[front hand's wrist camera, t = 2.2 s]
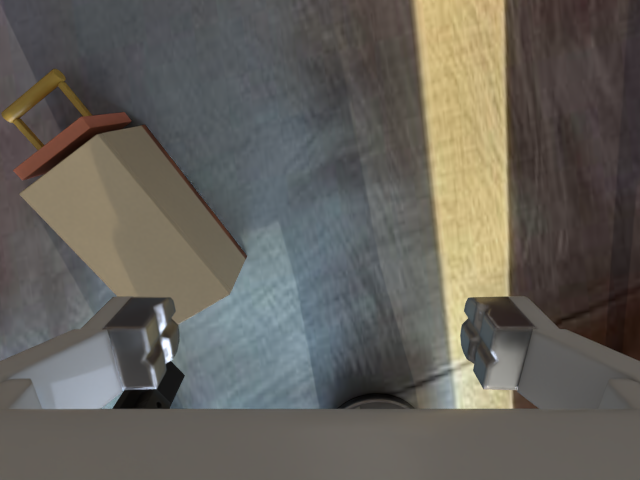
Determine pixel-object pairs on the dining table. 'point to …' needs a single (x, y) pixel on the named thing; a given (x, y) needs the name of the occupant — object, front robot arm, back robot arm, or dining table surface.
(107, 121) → the drawer
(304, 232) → the dining table surface
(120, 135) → the cabinet
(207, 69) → the dining table surface
